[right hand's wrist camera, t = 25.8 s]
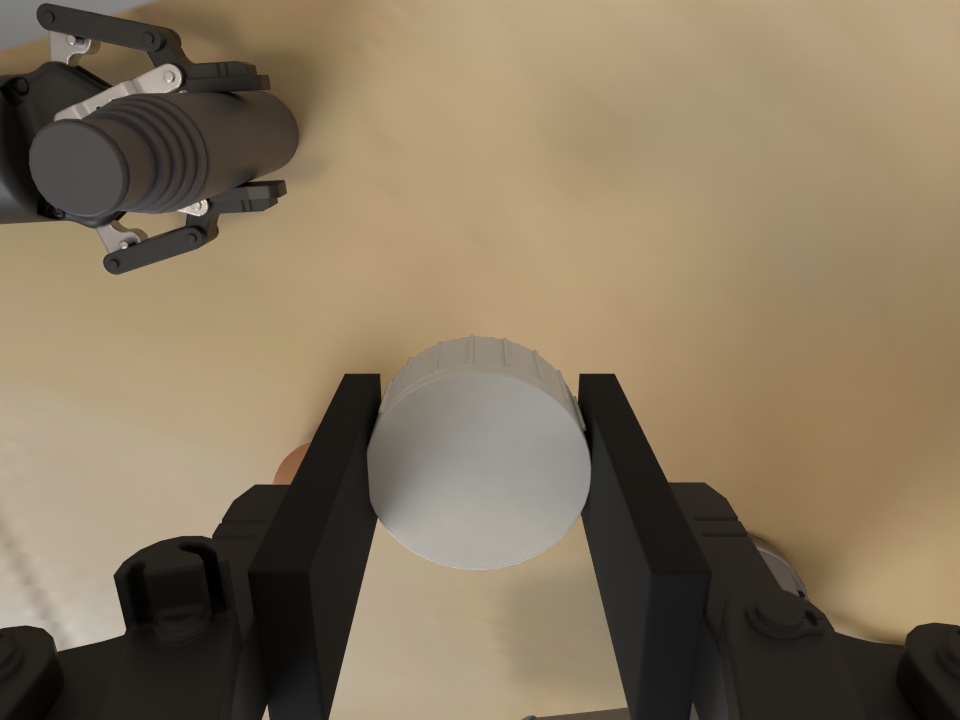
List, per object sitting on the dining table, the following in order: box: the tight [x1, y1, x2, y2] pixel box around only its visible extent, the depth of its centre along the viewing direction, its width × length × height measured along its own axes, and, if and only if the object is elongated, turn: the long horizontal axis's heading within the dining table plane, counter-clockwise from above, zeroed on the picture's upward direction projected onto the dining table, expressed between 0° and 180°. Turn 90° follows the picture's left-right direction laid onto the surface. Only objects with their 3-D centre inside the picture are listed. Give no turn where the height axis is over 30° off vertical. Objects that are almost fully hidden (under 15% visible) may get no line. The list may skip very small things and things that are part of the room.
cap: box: [367, 335, 592, 570], centre depth 14 cm, size 4×4×2 cm
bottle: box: [29, 91, 298, 218], centre depth 32 cm, size 5×5×21 cm
